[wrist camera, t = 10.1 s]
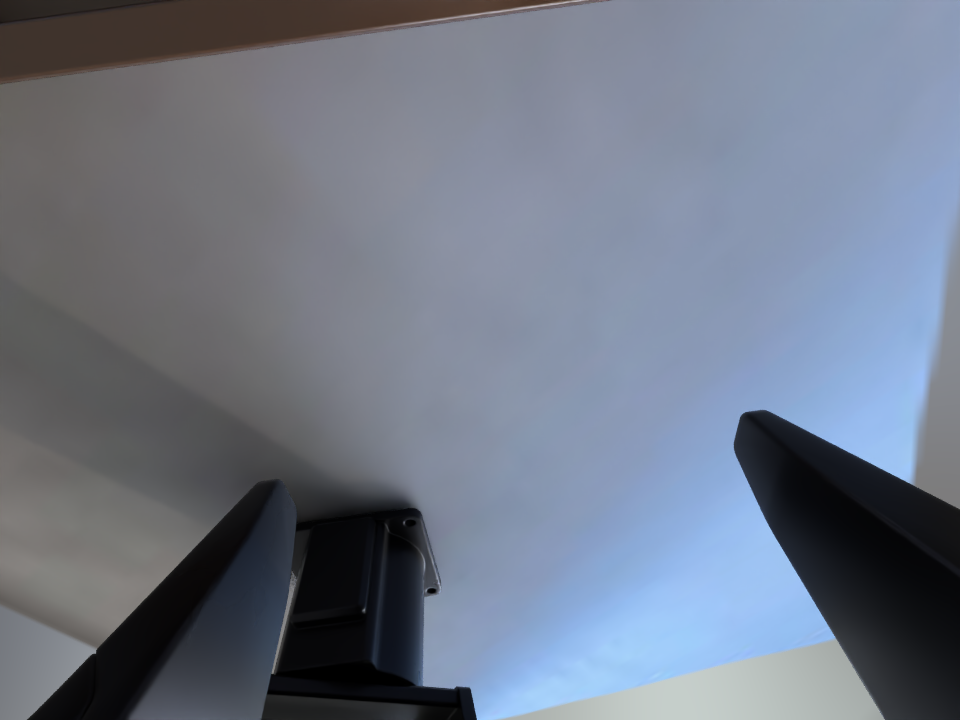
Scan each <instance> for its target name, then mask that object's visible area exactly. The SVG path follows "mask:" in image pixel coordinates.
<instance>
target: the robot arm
mask: <svg viewBox="0 0 960 720" xmlns="http://www.w3.org/2000/svg"><path fill="white" fill-rule="evenodd" d="M734 451H735V454H736V457H737V459H738V461H739V463H740V465H741V467H742V470H743V472H744V474H745V476H746V478H747V480H748V483H749V485H750V487H751V489H752V491H753V493H754V496H755V498H756V500H757V502H758V504H759V506H760V509H761V511H762V513H763V515H764V517H765V519H766V521H767V523H768V525H769V527H770V528H771V530H772V532H773V534H774V536H775V537H776V539H777V541H778V542H779V544H780V546H781V547H782V549H783V551H784V552H785V554H786V556H787V557H788V559H789V561H790V562H791V564H792V566H793V567H794V569H795V571H796V572H797V574H798V576H799V577H800V579H801V581H802V582H803V584H804V586H805V587H806V589H807V591H808V592H809V594H810V596H811V597H812V599H813V601H814V602H815V604H816V606H817V607H818V609H819V611H820V612H821V614H822V616H823V617H824V619H825V621H826V622H827V624H828V626H829V627H830V629H831V631H832V632H833V634H834V636H835V637H836V639H837V641H838V642H839V644H840V646H841V647H842V649H843V651H844V652H845V654H846V656H847V657H848V659H849V661H850V662H851V664H852V666H853V668H854V669H855V671H856V673H857V674H858V676H859V678H860V679H861V681H862V682H863V684H864V686H865V687H866V689H867V691H868V692H869V694H870V696H871V698H872V699H873V701H874V702H875V704H876V706H877V708H878V709H879V711H880V713H881V714H882V716H883V717H884V719H885V720H960V509H958V508H956V507H954V506H952V505H950V504H948V503H946V502H944V501H942V500H941V499H939V498H936V497H935V496H933V495H931V494H929V493H927V492H925V491H923V490H921V489H919V488H917V487H915V486H913V485H911V484H909V483H907V482H905V481H904V480H902V479H900V478H898V477H896V476H894V475H892V474H890V473H888V472H886V471H884V470H882V469H880V468H878V467H876V466H874V465H872V464H870V463H868V462H867V461H865V460H863V459H861V458H859V457H857V456H855V455H853V454H851V453H849V452H847V451H845V450H843V449H841V448H839V447H837V446H835V445H833V444H831V443H829V442H828V441H826V440H824V439H822V438H820V437H818V436H816V435H814V434H812V433H810V432H808V431H806V430H804V429H802V428H800V427H798V426H796V425H794V424H792V423H790V422H789V421H787V420H785V419H783V418H781V417H779V416H777V415H775V414H773V413H771V412H769V411H766V410H758V411H751V412H745V413H743V414H742V416H741V417H740V420H739V424H738V428H737V432H736V436H735V440H734ZM296 521H297V510H296V506H295V504H294V502H293V500H292V498H291V496H290V494H289V492H288V490H287V488H286V486H285V484H284V483H283V482H282V481H281V480H280V479H274V480H267V481H261V482H259V483H257V484H256V485H255V486H254V487H253V488H252V489H251V490H250V491H249V492H248V493H247V494H246V495H245V496H244V497H243V498H242V499H241V500H240V501H239V502H238V503H237V504H236V505H235V506H234V507H233V509H232V510H231V511H230V512H229V513H228V514H227V515H226V516H225V517H224V518H223V519H222V520H221V521H220V522H219V523H218V524H217V525H216V526H215V527H214V528H213V529H212V530H211V531H210V532H209V533H208V534H207V536H206V537H205V538H204V539H203V540H202V541H201V542H200V543H199V544H198V545H197V546H196V547H195V548H194V549H193V550H192V551H191V552H190V553H189V554H188V555H187V556H186V557H185V558H184V559H183V560H182V561H181V562H180V564H179V565H178V566H177V567H176V568H175V569H174V570H173V571H172V572H171V573H170V574H169V575H168V576H167V577H166V578H165V579H164V580H163V581H162V582H161V583H160V584H159V585H158V586H157V587H156V588H155V589H154V591H153V592H152V593H151V594H150V595H149V596H148V597H147V598H146V599H145V600H144V601H143V602H142V603H141V604H140V605H139V606H138V607H137V608H136V609H135V610H134V611H133V612H132V613H131V614H130V615H129V616H128V617H127V619H126V620H125V621H124V622H123V623H122V624H121V625H120V626H119V627H118V628H117V629H116V630H115V631H114V632H113V633H112V634H111V635H110V636H109V637H108V638H107V639H106V640H105V641H104V642H103V643H102V644H101V646H100V647H99V648H98V649H97V650H96V654H92V655H91V656H90V657H89V658H88V659H87V660H86V661H85V662H84V663H83V664H82V665H81V666H80V667H79V668H78V669H77V670H76V671H75V672H74V673H73V674H72V675H71V676H70V677H69V678H68V680H67V681H65V683H63V685H62V686H61V687H60V688H59V689H58V690H57V691H56V692H55V693H54V694H53V695H52V696H51V697H50V698H49V699H48V700H47V701H46V702H45V703H44V704H43V705H42V706H41V707H40V708H39V709H38V710H37V711H36V712H35V713H34V714H33V715H32V716H30V718H29V719H27V720H477V718H476V713H475V708H474V703H473V698H472V694H471V689H470V688H469V687H455V689H448V688H436V687H424V686H423V630H424V597H429V596H435V595H437V594H439V593H440V592H441V580H440V577H439V573H438V570H437V566H436V563H435V559H434V556H433V552H432V549H431V545H430V542H429V538H428V535H427V531H426V528H425V524H424V521H423V517H422V514H421V512H420V511H419V510H417V509H414V508H407V509H400V510H393V511H385V512H378V513H371V514H364V515H357V516H350V517H343V518H335V519H328V520H321V521H314V522H307V523H300V524H296ZM291 569H292V571H293V573H294V575H295V576H296V578H297V581H296V585H295V589H294V593H293V598H292V602H291V606H290V610H289V614H288V618H287V622H286V626H285V630H284V634H283V638H282V642H281V646H280V650H279V654H278V658H277V662H276V666H275V670H274V674H271V672H272V668H273V663H274V659H275V654H276V650H277V645H278V641H279V636H280V631H281V627H282V622H283V618H284V613H285V609H286V604H287V599H288V593H289V586H290V578H291Z"/></svg>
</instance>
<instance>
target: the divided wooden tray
mask: <svg viewBox="0 0 960 720" xmlns="http://www.w3.org/2000/svg"><path fill="white" fill-rule="evenodd" d="M603 1H610V0H0V84H5V83H12V82H19V81H26V80H34V79H41V78H48V77H56V76H63V75H70V74H77V73H85V72H92V71H99V70H107V69H114V68H121V67H128V66H136V65H143V64H150V63H158V62H165V61H172V60H180V59H187V58H194V57H201V56H209V55H216V54H223V53H231V52H238V51H245V50H252V49H260V48H267V47H274V46H282V45H289V44H296V43H304V42H311V41H318V40H325V39H333V38H340V37H347V36H355V35H362V34H369V33H376V32H384V31H391V30H398V29H406V28H413V27H420V26H428V25H435V24H442V23H449V22H457V21H464V20H471V19H479V18H486V17H493V16H500V15H508V14H515V13H522V12H530V11H537V10H544V9H551V8H559V7H566V6H573V5H581V4H588V3H595V2H603Z"/></svg>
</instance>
